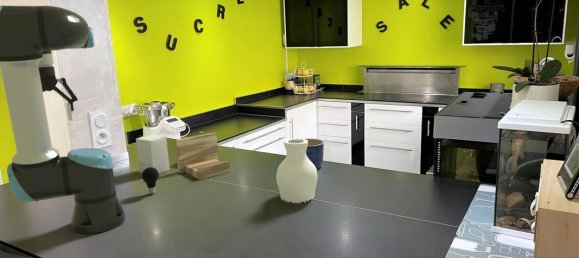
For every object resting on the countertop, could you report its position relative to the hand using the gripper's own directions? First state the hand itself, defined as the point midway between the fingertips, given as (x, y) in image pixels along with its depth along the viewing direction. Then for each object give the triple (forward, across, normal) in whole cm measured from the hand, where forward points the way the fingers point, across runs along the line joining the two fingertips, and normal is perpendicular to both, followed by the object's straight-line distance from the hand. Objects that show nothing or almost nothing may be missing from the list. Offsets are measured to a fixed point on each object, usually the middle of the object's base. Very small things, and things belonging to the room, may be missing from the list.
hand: (51, 122), depth 162 cm
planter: (+26, -84, +52) cm, 102 cm away
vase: (+26, -58, +74) cm, 97 cm away
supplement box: (+25, -34, +10) cm, 44 cm away
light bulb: (+26, -22, +34) cm, 48 cm away
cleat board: (+25, -50, +26) cm, 61 cm away
